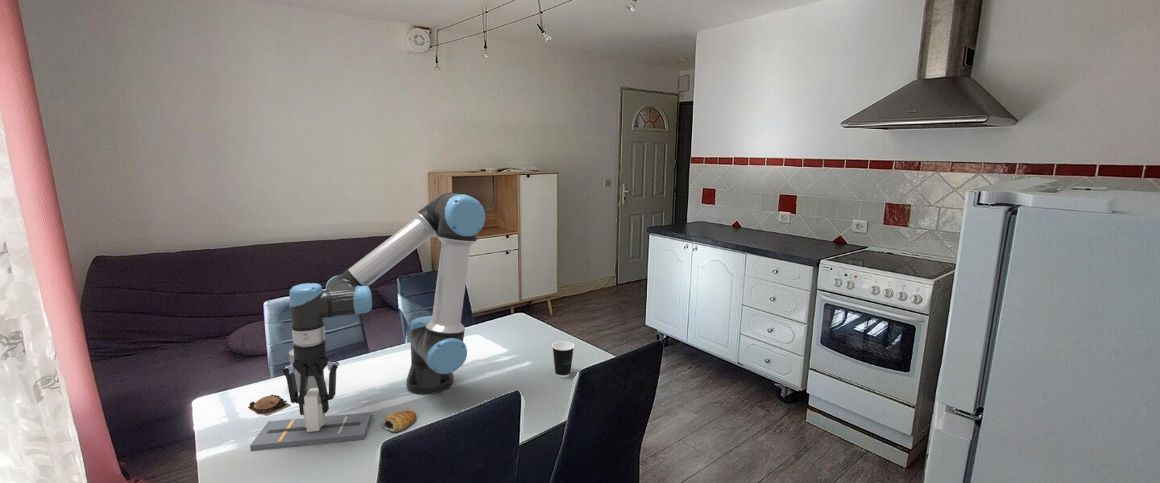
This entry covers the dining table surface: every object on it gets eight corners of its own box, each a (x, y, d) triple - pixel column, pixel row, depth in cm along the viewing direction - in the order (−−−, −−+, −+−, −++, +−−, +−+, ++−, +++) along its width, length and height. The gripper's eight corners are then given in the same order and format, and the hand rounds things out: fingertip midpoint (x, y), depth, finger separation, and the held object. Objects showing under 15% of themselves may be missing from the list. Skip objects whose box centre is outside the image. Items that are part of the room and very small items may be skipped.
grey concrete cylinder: (310, 393, 156) (307, 357, 154) (284, 390, 158) (281, 354, 156) (331, 381, 165) (329, 346, 163) (306, 378, 167) (304, 343, 165)
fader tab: (324, 421, 136) (321, 387, 135) (319, 430, 132) (316, 396, 130) (312, 422, 136) (309, 388, 134) (306, 432, 131) (304, 397, 129)
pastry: (406, 414, 145) (406, 402, 144) (422, 420, 142) (422, 408, 141) (379, 428, 137) (379, 416, 136) (396, 435, 134) (395, 422, 133)
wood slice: (293, 407, 149) (292, 395, 148) (264, 419, 142) (263, 407, 141) (273, 398, 154) (272, 386, 153) (244, 409, 147) (243, 397, 146)
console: (372, 416, 143) (371, 411, 142) (363, 439, 131) (363, 433, 131) (268, 426, 137) (268, 420, 136) (250, 450, 125) (250, 445, 125)
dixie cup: (554, 369, 178) (555, 340, 176) (576, 371, 176) (576, 342, 175) (548, 378, 170) (549, 348, 169) (571, 380, 169) (571, 350, 167)
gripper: (270, 349, 124) (277, 434, 128) (338, 345, 128) (344, 428, 132) (280, 339, 132) (287, 420, 135) (345, 335, 135) (350, 414, 139)
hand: (315, 424), depth 134 cm, fingers closed on fader tab, 3 cm apart
